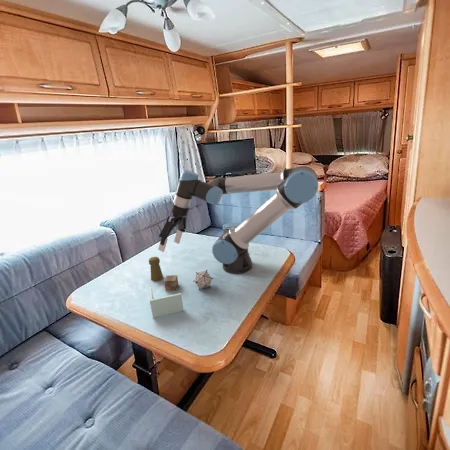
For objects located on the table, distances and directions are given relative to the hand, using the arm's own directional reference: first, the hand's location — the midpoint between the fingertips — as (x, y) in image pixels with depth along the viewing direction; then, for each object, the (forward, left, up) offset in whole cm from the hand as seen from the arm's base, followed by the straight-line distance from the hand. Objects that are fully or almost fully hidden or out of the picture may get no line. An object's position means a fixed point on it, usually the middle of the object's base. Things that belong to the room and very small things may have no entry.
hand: (169, 246), depth 134 cm
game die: (-17, +8, -17) cm, 25 cm away
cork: (+9, +1, -17) cm, 19 cm away
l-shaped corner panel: (-6, +23, -17) cm, 29 cm away
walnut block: (-2, +9, -17) cm, 19 cm away
